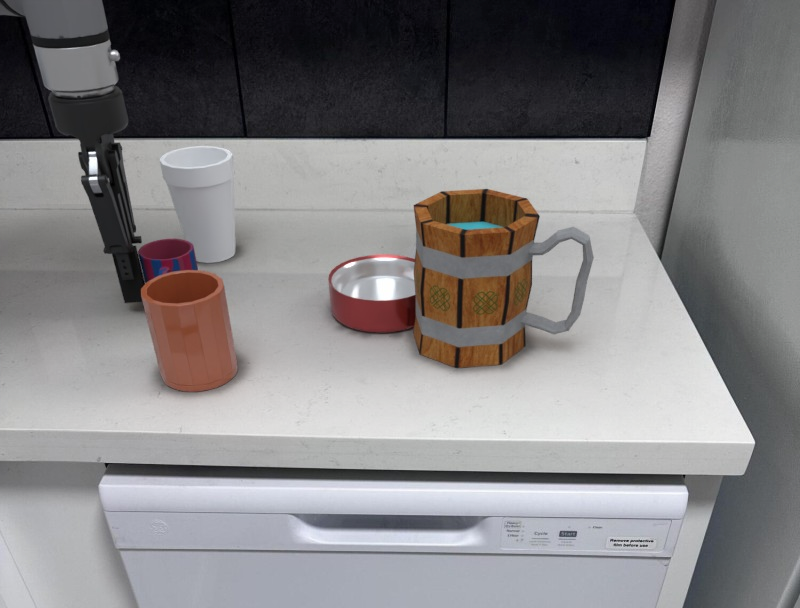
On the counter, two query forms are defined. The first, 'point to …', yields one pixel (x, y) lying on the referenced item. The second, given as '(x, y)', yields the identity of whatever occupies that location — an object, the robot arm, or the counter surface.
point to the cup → (166, 257)
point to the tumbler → (190, 329)
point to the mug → (481, 276)
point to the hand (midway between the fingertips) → (136, 299)
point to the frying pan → (374, 293)
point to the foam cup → (203, 198)
